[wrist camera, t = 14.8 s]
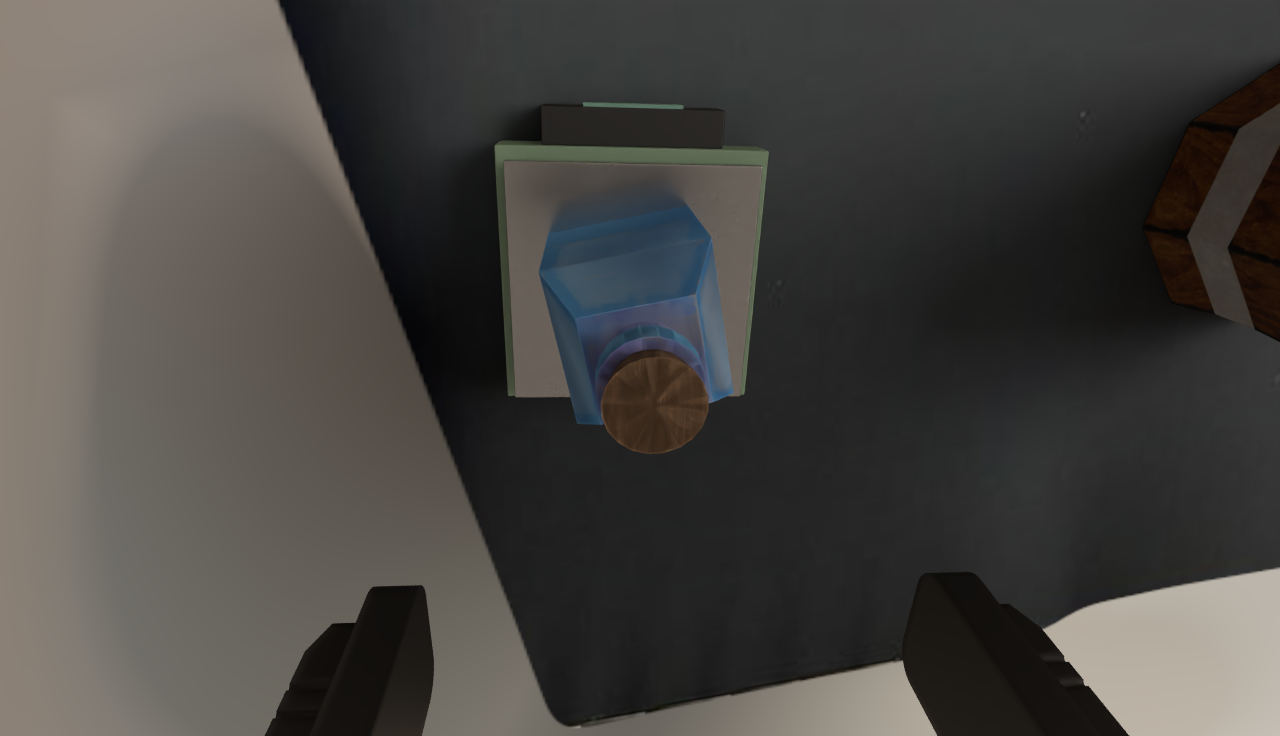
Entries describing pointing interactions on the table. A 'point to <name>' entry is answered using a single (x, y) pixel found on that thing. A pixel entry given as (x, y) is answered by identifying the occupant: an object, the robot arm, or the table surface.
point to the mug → (1225, 211)
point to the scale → (625, 139)
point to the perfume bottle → (639, 325)
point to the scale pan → (611, 192)
